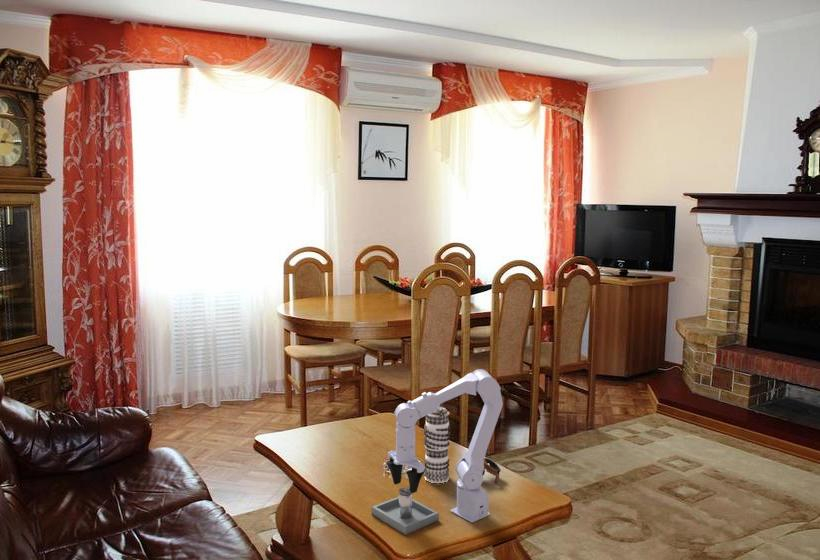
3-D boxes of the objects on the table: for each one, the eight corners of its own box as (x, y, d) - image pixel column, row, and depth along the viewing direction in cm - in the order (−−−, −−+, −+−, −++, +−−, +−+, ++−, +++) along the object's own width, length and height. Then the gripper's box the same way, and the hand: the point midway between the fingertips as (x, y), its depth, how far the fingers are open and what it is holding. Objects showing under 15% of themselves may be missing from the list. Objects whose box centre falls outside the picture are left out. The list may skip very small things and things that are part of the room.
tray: (438, 520, 202) (438, 512, 201) (405, 535, 193) (405, 526, 193) (404, 501, 214) (404, 494, 213) (371, 514, 205) (371, 506, 205)
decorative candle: (452, 474, 234) (453, 405, 231) (446, 486, 225) (447, 413, 222) (427, 471, 236) (427, 402, 233) (420, 482, 228) (420, 411, 224)
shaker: (415, 514, 204) (415, 489, 203) (406, 520, 201) (406, 494, 200) (404, 510, 206) (404, 486, 205) (395, 515, 203) (395, 490, 202)
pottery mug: (473, 473, 237) (486, 454, 236) (494, 491, 232) (507, 471, 231) (459, 476, 227) (472, 457, 225) (481, 495, 222) (494, 475, 221)
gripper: (379, 440, 204) (379, 483, 205) (411, 455, 193) (411, 500, 195) (397, 435, 208) (397, 477, 210) (429, 448, 197) (429, 493, 199)
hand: (405, 487), depth 203 cm, fingers open, 7 cm apart
